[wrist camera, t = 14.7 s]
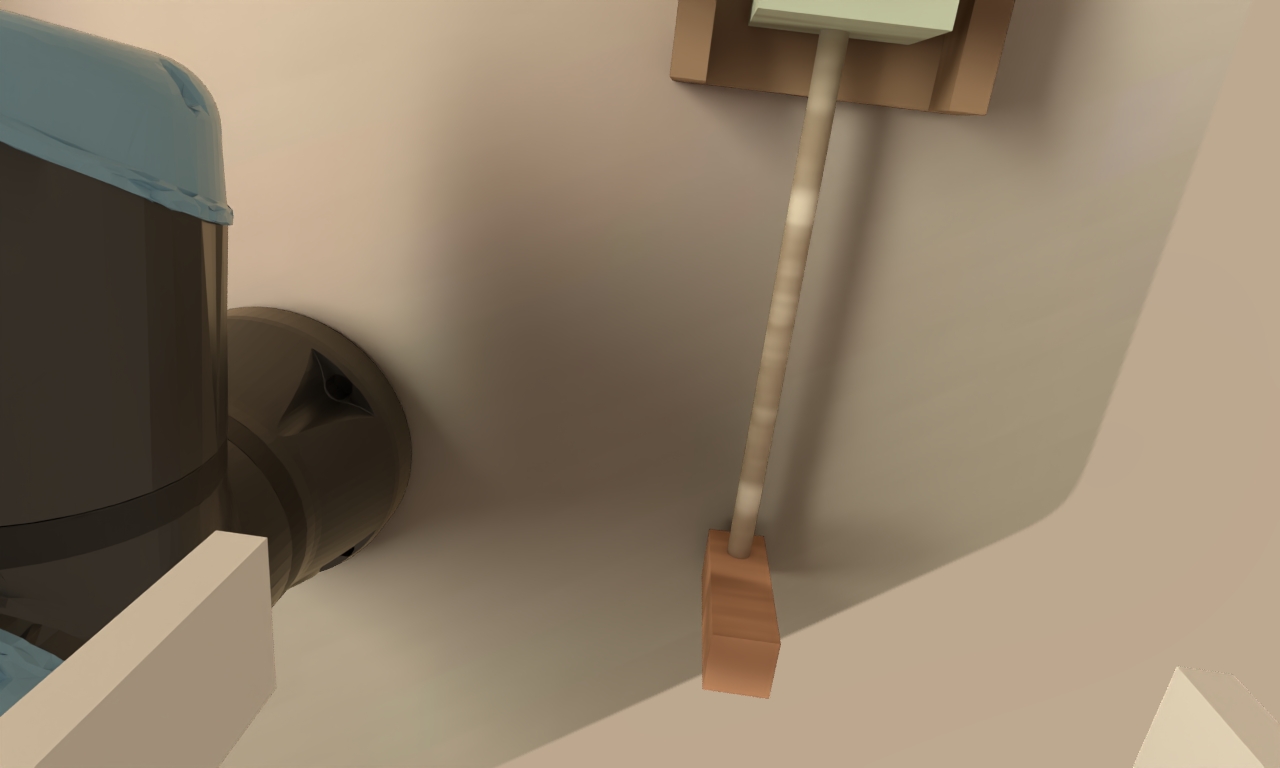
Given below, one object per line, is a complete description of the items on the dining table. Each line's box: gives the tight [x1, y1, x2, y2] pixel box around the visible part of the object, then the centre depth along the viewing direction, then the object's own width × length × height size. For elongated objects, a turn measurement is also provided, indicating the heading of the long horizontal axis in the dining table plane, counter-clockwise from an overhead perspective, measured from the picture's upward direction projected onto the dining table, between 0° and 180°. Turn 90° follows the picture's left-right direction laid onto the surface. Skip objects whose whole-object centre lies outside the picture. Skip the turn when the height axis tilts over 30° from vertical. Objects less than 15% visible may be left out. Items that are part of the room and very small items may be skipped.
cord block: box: [702, 0, 959, 699], centre depth 33 cm, size 35×7×9 cm, turn 173°
